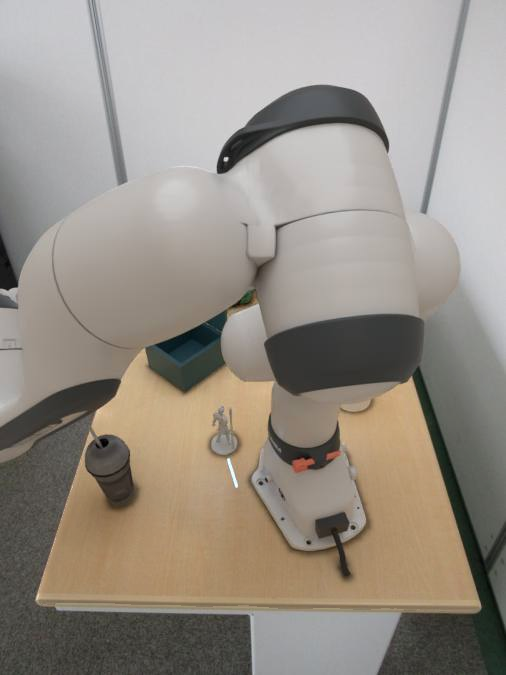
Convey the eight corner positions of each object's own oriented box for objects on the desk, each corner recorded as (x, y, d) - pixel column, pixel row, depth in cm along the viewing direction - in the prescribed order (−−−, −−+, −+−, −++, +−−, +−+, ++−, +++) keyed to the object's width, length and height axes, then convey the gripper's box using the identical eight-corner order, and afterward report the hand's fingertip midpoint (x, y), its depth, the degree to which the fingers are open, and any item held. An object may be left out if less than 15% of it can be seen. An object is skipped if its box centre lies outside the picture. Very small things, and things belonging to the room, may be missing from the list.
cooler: (184, 392, 102) (180, 367, 96) (148, 366, 108) (143, 341, 103) (228, 360, 109) (226, 335, 104) (192, 337, 116) (189, 312, 111)
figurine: (242, 440, 91) (240, 400, 84) (227, 459, 88) (223, 419, 80) (221, 429, 94) (217, 389, 86) (205, 447, 90) (200, 407, 83)
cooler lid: (223, 279, 94) (239, 270, 97) (182, 258, 101) (198, 250, 104) (225, 334, 104) (240, 325, 106) (187, 312, 110) (202, 303, 113)
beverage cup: (132, 517, 80) (106, 448, 67) (94, 510, 81) (61, 440, 68) (148, 481, 85) (127, 410, 72) (111, 474, 86) (84, 403, 73)
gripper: (41, 419, 57) (120, 403, 70) (-7, 277, 61) (76, 286, 74) (12, 437, 60) (94, 419, 72) (-32, 300, 64) (52, 305, 76)
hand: (84, 351), depth 73 cm, fingers open, 8 cm apart
